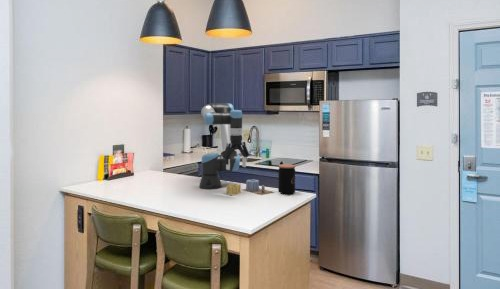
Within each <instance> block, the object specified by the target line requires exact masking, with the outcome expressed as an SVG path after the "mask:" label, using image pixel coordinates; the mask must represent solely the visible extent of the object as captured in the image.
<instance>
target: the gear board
mask: <svg viewBox="0 0 500 289" xmlns="http://www.w3.org/2000/svg"><path fill="white" fill-rule="evenodd" d="M241 191H244V192H248V193H252V194H256V195H260V196H264V195H269V194H274V193H275V191H273V190H268V189H265V185H264V184H262V185H261V188H260V187H259V190H258V191H257V190H256V191H249V190H246V188H244V189H243V188H242V189H241Z"/></svg>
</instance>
